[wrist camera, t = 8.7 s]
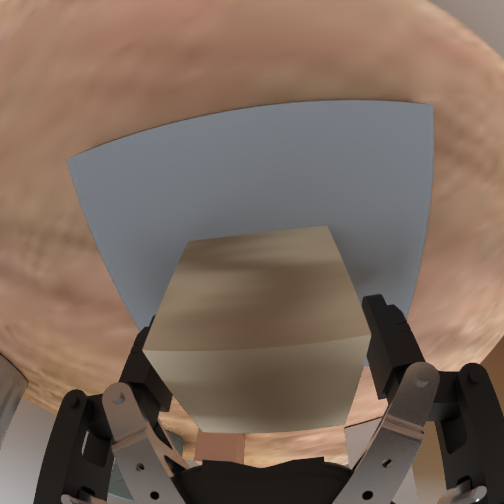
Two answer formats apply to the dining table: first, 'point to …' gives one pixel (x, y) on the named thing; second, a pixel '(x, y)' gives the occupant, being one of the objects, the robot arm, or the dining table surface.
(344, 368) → the beech cube
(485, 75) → the dining table surface
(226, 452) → the terracotta block
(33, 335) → the dining table surface
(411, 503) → the milk carton
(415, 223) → the base board
